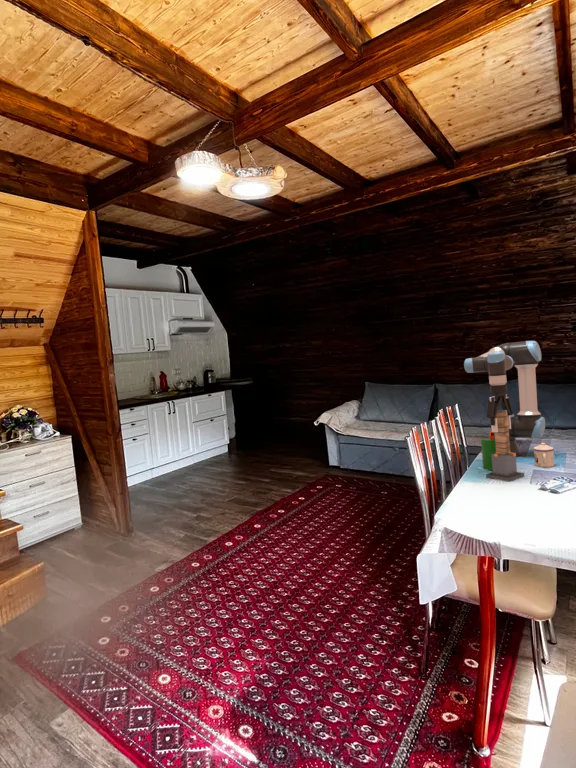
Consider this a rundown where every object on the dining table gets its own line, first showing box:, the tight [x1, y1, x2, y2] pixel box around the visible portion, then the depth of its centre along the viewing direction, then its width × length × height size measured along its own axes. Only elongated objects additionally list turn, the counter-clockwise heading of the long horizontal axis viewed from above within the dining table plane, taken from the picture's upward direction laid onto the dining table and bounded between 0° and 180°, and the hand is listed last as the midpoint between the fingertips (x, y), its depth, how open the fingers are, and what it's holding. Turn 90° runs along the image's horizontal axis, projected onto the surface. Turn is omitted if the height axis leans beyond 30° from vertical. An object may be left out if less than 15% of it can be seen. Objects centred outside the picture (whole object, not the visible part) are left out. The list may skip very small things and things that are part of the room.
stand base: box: [485, 452, 525, 483], centre depth 211 cm, size 12×12×12 cm
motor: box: [480, 430, 496, 472], centre depth 226 cm, size 10×9×20 cm
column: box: [494, 409, 511, 455], centre depth 210 cm, size 5×5×23 cm
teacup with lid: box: [533, 442, 555, 468], centre depth 223 cm, size 12×9×12 cm
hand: (501, 430), depth 210 cm, fingers open, 10 cm apart
